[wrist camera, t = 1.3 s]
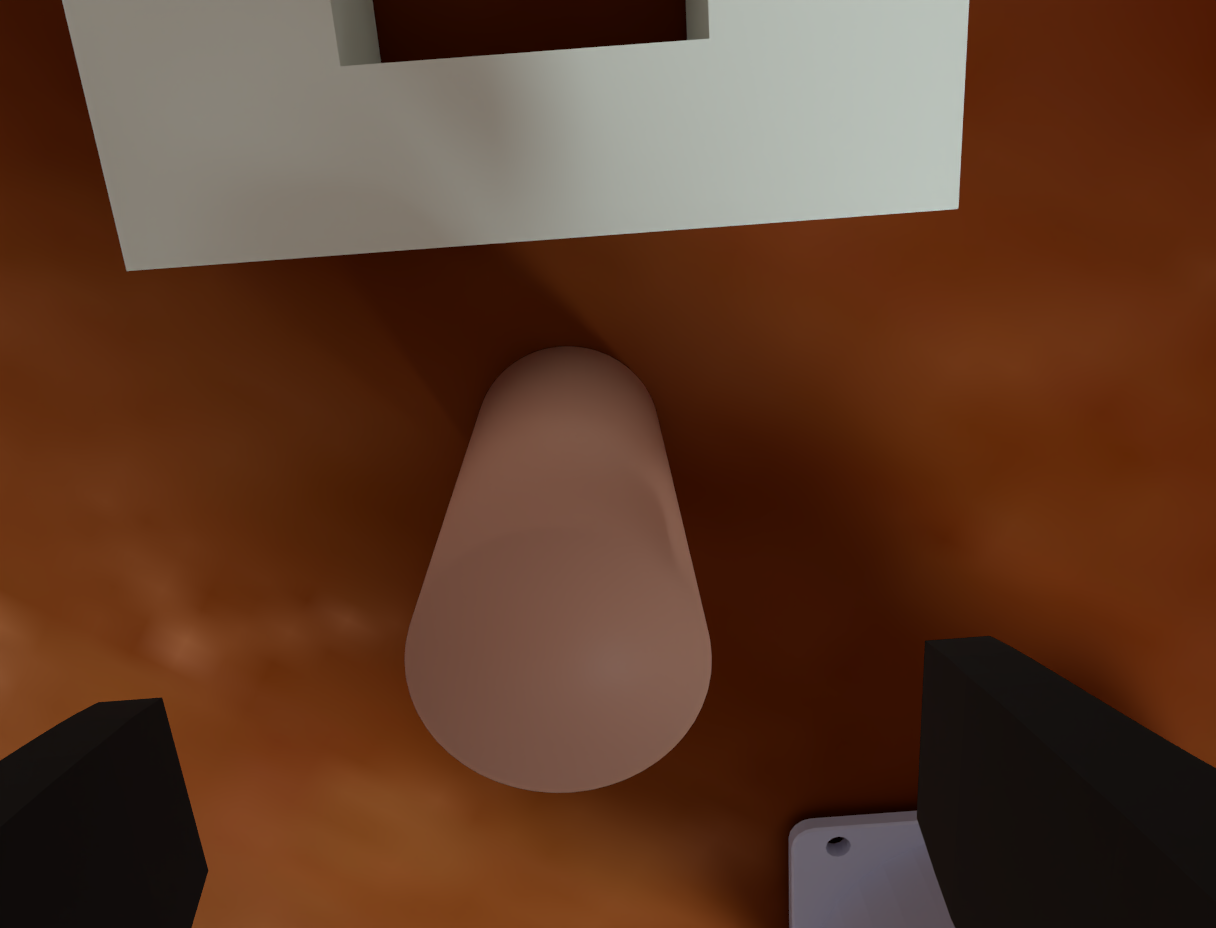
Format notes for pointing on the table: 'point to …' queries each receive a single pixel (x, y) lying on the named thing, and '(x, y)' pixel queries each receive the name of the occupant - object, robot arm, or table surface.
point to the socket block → (508, 126)
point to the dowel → (561, 586)
